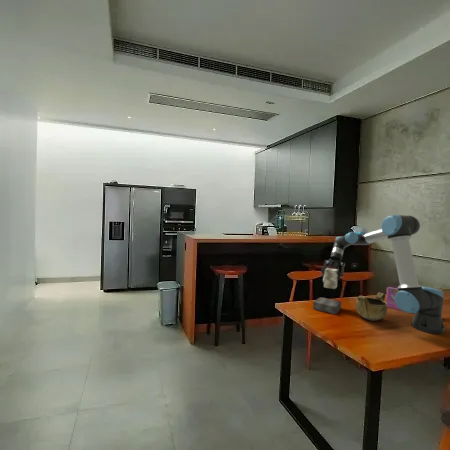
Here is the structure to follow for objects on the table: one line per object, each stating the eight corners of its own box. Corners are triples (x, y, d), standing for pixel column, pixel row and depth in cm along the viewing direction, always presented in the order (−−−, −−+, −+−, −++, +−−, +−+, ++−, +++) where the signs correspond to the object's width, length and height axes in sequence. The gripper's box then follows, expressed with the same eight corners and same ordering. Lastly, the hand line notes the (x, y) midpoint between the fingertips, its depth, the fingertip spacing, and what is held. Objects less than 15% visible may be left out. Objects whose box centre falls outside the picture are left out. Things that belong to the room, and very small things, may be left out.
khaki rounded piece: (372, 327, 164) (374, 300, 163) (345, 316, 179) (347, 292, 178) (394, 320, 176) (396, 295, 175) (367, 311, 191) (369, 288, 190)
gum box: (383, 306, 203) (385, 286, 203) (387, 304, 209) (389, 285, 208) (424, 316, 186) (426, 295, 185) (427, 313, 191) (429, 293, 191)
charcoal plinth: (341, 309, 194) (341, 301, 194) (335, 314, 182) (335, 306, 182) (319, 304, 202) (320, 297, 202) (312, 309, 190) (313, 302, 190)
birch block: (336, 286, 201) (338, 269, 200) (334, 289, 195) (335, 271, 194) (326, 285, 204) (327, 267, 204) (323, 287, 199) (324, 269, 198)
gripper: (352, 260, 206) (345, 288, 193) (323, 256, 217) (315, 283, 204) (351, 253, 201) (344, 281, 189) (321, 250, 212) (313, 276, 199)
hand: (329, 282), depth 196 cm, fingers closed on birch block, 7 cm apart
